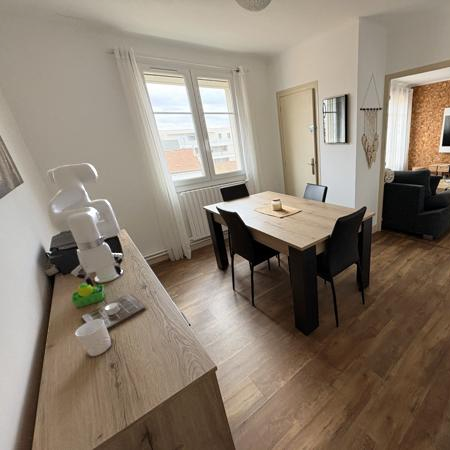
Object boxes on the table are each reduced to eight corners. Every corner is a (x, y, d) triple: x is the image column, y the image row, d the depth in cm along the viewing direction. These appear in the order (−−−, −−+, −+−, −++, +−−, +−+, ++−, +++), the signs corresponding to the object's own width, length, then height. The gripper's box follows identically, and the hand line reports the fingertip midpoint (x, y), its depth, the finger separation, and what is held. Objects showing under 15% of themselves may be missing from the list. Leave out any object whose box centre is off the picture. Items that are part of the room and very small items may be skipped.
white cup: (83, 361, 82) (71, 339, 79) (89, 345, 89) (79, 324, 85) (111, 351, 86) (100, 330, 82) (115, 336, 92) (105, 316, 89)
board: (82, 318, 103) (81, 316, 102) (129, 295, 116) (128, 293, 116) (96, 336, 93) (95, 334, 92) (145, 309, 106) (144, 307, 105)
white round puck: (105, 312, 103) (103, 307, 102) (117, 306, 107) (115, 301, 105) (109, 316, 101) (107, 311, 100) (121, 310, 104) (119, 305, 103)
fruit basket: (107, 292, 120) (98, 273, 115) (105, 301, 113) (96, 281, 109) (77, 301, 114) (67, 281, 110) (74, 312, 107) (63, 291, 103)
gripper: (112, 233, 103) (125, 267, 109) (59, 250, 90) (77, 287, 97) (119, 237, 98) (132, 272, 105) (64, 255, 86) (82, 293, 92)
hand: (105, 279), depth 101 cm, fingers open, 9 cm apart
